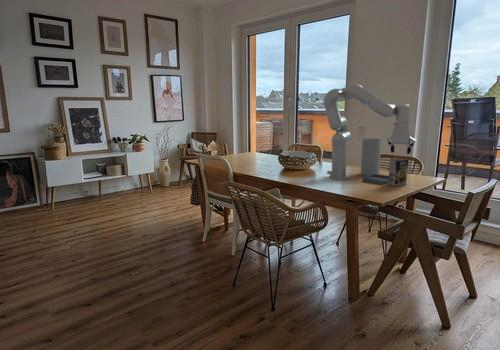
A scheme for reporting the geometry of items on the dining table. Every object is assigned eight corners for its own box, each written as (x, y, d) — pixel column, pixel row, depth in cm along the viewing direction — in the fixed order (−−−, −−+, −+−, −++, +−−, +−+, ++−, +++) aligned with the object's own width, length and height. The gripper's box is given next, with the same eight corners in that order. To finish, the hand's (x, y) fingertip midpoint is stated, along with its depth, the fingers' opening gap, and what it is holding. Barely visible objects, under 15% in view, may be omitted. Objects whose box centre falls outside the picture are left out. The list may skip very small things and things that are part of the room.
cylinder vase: (359, 175, 244) (360, 140, 239) (362, 172, 255) (364, 138, 250) (377, 177, 239) (380, 141, 233) (380, 173, 249) (382, 138, 244)
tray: (362, 181, 228) (362, 177, 227) (373, 177, 239) (373, 173, 238) (384, 184, 218) (384, 181, 217) (394, 180, 229) (394, 176, 228)
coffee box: (395, 186, 213) (397, 160, 210) (387, 184, 219) (389, 159, 216) (406, 184, 217) (408, 159, 213) (398, 182, 223) (400, 158, 219)
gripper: (385, 125, 213) (384, 152, 217) (414, 125, 201) (412, 155, 205) (390, 124, 218) (389, 151, 222) (419, 125, 206) (417, 153, 210)
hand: (400, 153), depth 213 cm, fingers open, 9 cm apart
